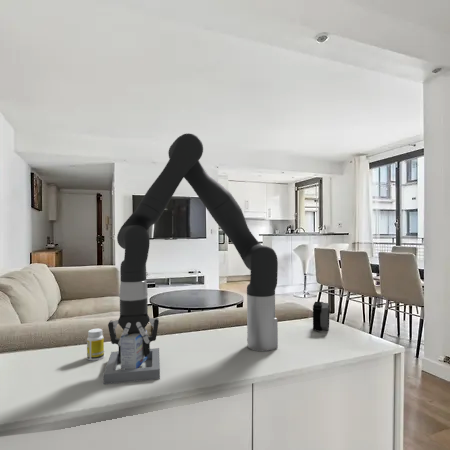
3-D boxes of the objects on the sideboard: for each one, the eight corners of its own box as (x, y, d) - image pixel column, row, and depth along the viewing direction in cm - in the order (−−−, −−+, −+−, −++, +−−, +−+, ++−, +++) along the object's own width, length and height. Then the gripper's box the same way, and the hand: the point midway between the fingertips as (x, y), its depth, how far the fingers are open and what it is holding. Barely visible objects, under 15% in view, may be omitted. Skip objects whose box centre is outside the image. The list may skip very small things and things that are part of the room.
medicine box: (135, 370, 91) (135, 338, 91) (120, 369, 92) (120, 337, 92) (147, 359, 99) (147, 329, 99) (133, 358, 100) (133, 328, 100)
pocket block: (159, 356, 105) (159, 348, 105) (159, 378, 89) (159, 369, 89) (111, 360, 102) (111, 351, 102) (103, 384, 86) (103, 374, 86)
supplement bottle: (107, 356, 106) (106, 328, 106) (96, 361, 101) (96, 333, 101) (94, 354, 107) (94, 327, 107) (83, 359, 103) (83, 331, 103)
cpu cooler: (328, 334, 125) (327, 306, 125) (312, 332, 127) (311, 305, 127) (330, 326, 135) (329, 300, 135) (315, 324, 137) (314, 299, 137)
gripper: (159, 292, 101) (160, 350, 101) (108, 295, 98) (109, 354, 98) (160, 297, 94) (160, 359, 93) (104, 300, 91) (105, 364, 91)
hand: (134, 356), depth 96 cm, fingers closed on medicine box, 5 cm apart
